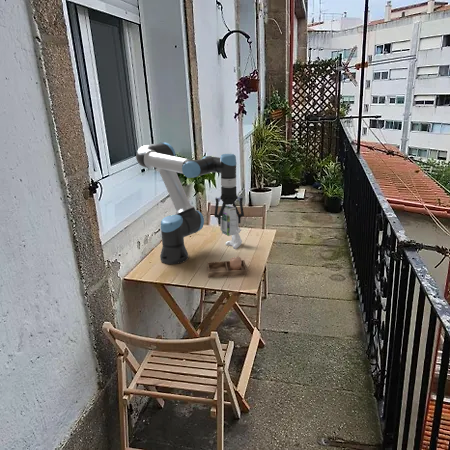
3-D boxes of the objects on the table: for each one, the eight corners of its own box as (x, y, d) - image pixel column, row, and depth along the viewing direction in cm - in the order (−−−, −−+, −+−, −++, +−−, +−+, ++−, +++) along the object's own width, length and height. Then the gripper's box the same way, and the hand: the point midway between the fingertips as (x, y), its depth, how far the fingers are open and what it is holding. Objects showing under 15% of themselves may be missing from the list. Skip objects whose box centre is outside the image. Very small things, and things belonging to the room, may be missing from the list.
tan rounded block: (230, 273, 185) (230, 261, 184) (229, 268, 191) (229, 257, 189) (242, 272, 186) (241, 261, 184) (240, 267, 191) (240, 256, 189)
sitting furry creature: (224, 244, 223) (224, 225, 219) (235, 241, 228) (235, 222, 224) (234, 249, 216) (234, 230, 212) (246, 245, 221) (245, 226, 217)
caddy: (208, 279, 182) (208, 272, 181) (207, 268, 193) (207, 262, 192) (247, 276, 183) (247, 270, 182) (244, 266, 195) (244, 260, 193)
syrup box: (221, 233, 194) (220, 206, 189) (230, 230, 198) (230, 204, 193) (228, 236, 190) (227, 208, 185) (237, 233, 193) (237, 206, 188)
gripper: (208, 188, 181) (209, 233, 189) (250, 187, 182) (250, 231, 190) (207, 184, 188) (209, 227, 196) (248, 183, 190) (248, 226, 197)
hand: (229, 229), depth 193 cm, fingers closed on syrup box, 8 cm apart
